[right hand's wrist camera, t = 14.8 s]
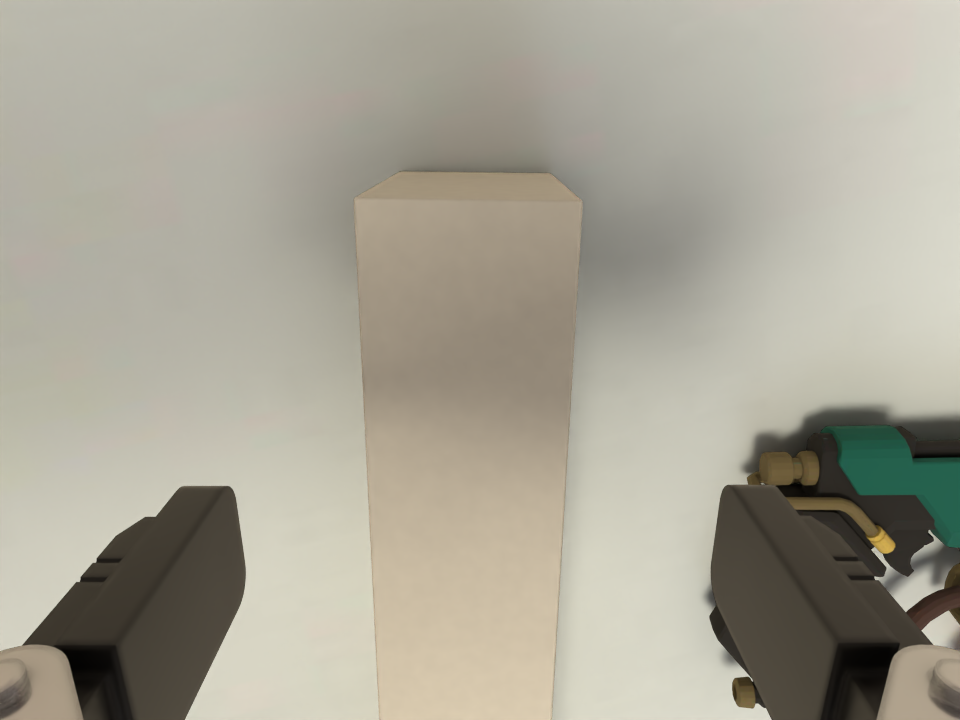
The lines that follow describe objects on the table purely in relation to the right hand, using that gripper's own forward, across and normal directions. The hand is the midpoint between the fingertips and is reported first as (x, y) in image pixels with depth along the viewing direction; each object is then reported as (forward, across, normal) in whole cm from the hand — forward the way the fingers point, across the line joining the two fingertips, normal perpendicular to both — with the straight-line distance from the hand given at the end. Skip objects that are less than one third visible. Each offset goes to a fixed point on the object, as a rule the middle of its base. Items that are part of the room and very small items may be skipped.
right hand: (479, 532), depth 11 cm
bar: (+12, 0, -24) cm, 27 cm away
